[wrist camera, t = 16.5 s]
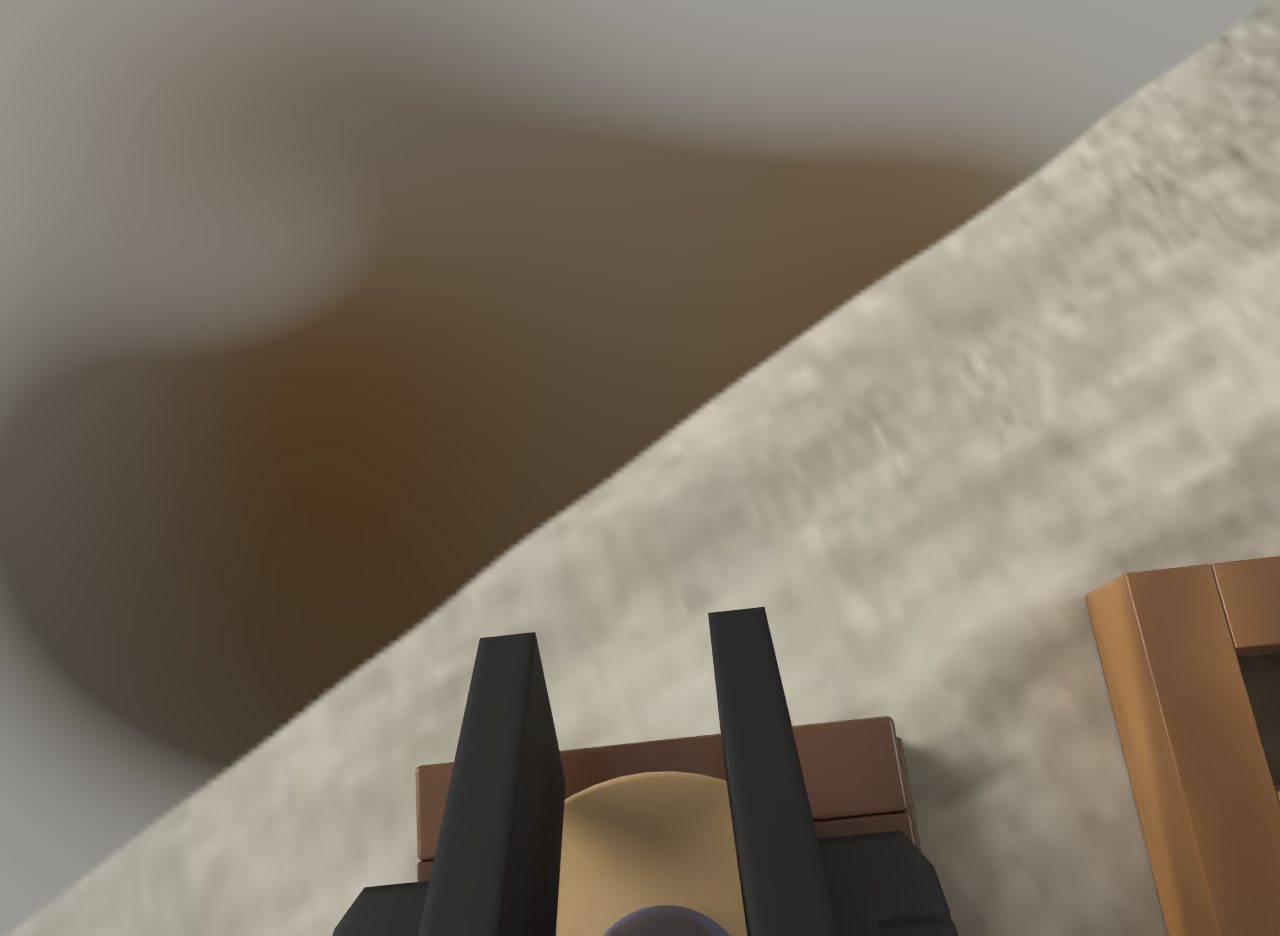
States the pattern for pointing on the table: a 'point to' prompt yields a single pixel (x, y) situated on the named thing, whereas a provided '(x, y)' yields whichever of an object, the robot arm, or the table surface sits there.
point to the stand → (829, 756)
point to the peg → (650, 859)
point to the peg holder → (1197, 736)
